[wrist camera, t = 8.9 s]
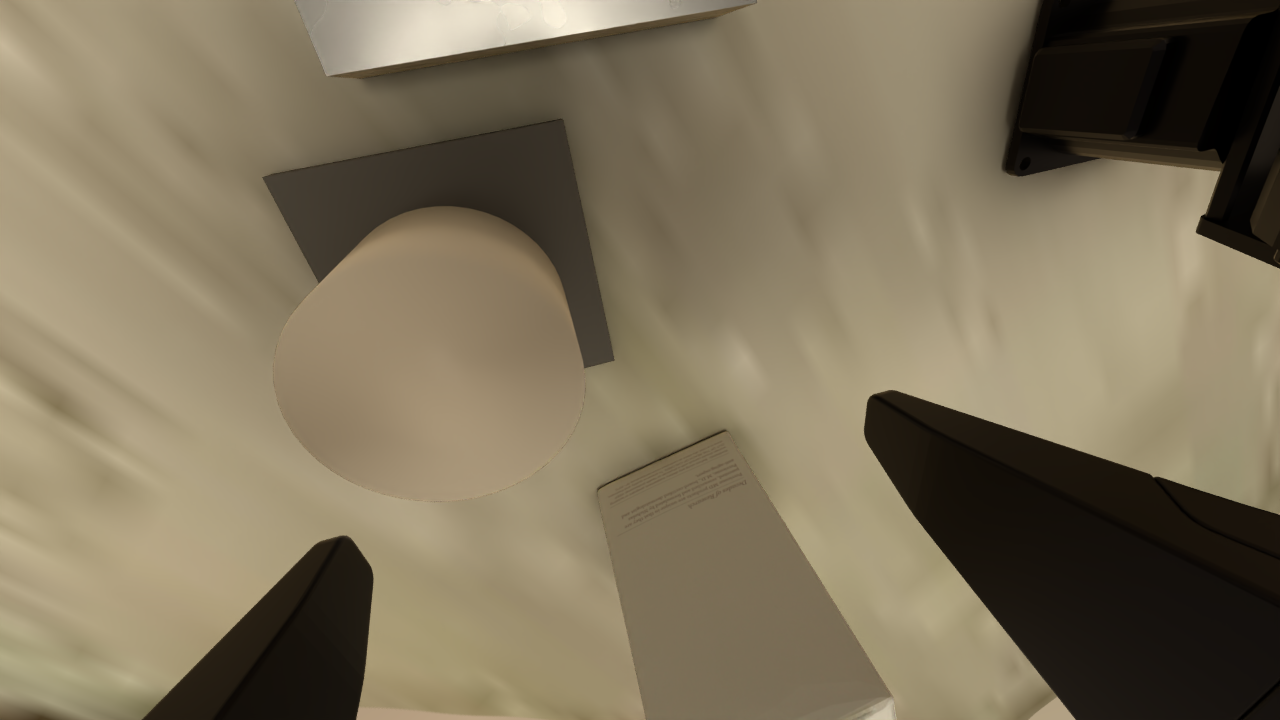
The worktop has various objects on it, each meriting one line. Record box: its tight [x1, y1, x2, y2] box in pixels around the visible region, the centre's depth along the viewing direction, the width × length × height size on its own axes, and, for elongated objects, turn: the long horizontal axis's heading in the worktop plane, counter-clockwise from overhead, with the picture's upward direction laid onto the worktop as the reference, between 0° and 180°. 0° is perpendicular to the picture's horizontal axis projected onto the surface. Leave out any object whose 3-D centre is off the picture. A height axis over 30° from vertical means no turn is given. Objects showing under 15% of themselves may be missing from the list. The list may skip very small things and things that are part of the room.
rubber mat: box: [262, 119, 614, 368], centre depth 17 cm, size 9×9×1 cm
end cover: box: [273, 206, 585, 502], centre depth 14 cm, size 6×6×7 cm
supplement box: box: [597, 431, 897, 720], centre depth 20 cm, size 7×7×13 cm
